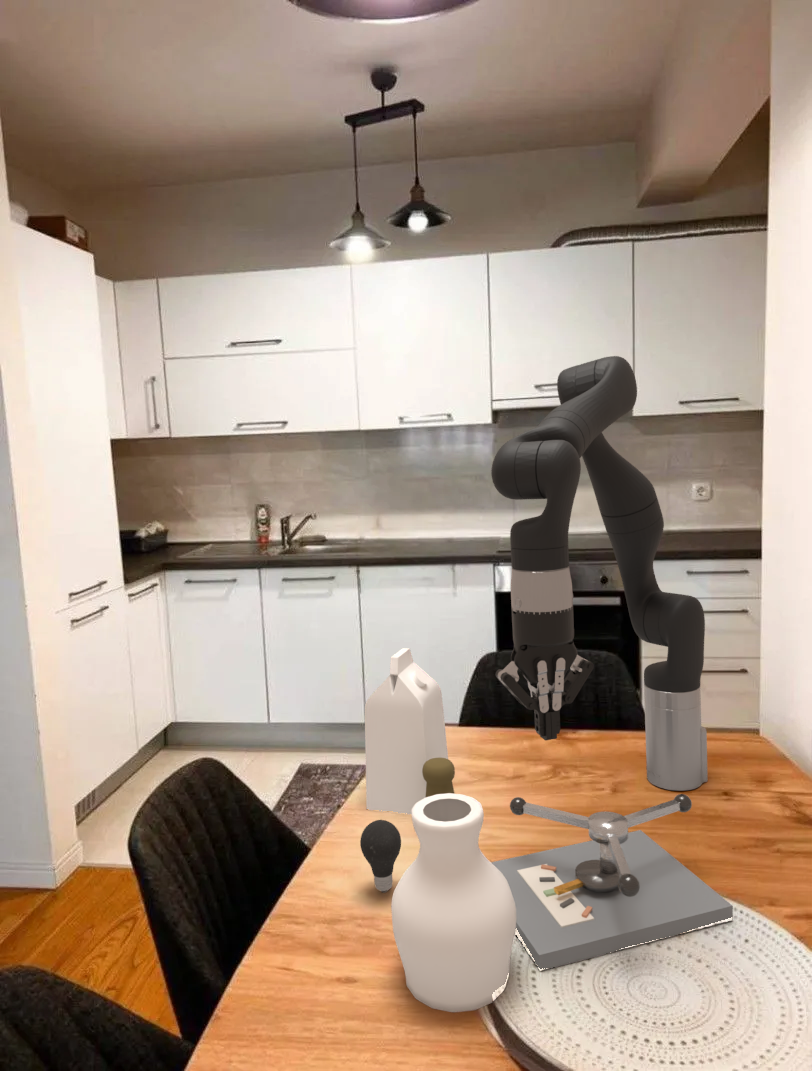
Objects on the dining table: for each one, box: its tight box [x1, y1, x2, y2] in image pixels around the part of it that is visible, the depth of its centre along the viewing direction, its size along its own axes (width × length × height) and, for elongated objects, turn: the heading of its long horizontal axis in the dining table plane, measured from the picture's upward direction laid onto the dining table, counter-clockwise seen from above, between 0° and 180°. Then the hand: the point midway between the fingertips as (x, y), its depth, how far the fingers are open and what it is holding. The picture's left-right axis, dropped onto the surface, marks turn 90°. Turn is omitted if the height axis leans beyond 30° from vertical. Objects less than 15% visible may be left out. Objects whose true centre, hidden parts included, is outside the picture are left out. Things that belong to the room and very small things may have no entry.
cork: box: [422, 758, 456, 798], centre depth 119 cm, size 6×6×11 cm
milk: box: [364, 647, 449, 815], centre depth 129 cm, size 12×12×26 cm
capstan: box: [509, 793, 693, 897], centre depth 99 cm, size 23×25×8 cm
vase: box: [391, 793, 517, 1013], centre depth 85 cm, size 14×14×20 cm
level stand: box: [490, 829, 734, 969], centre depth 98 cm, size 26×20×2 cm
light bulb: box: [359, 819, 402, 894], centre depth 103 cm, size 6×6×10 cm
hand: (547, 737), depth 94 cm, fingers closed
